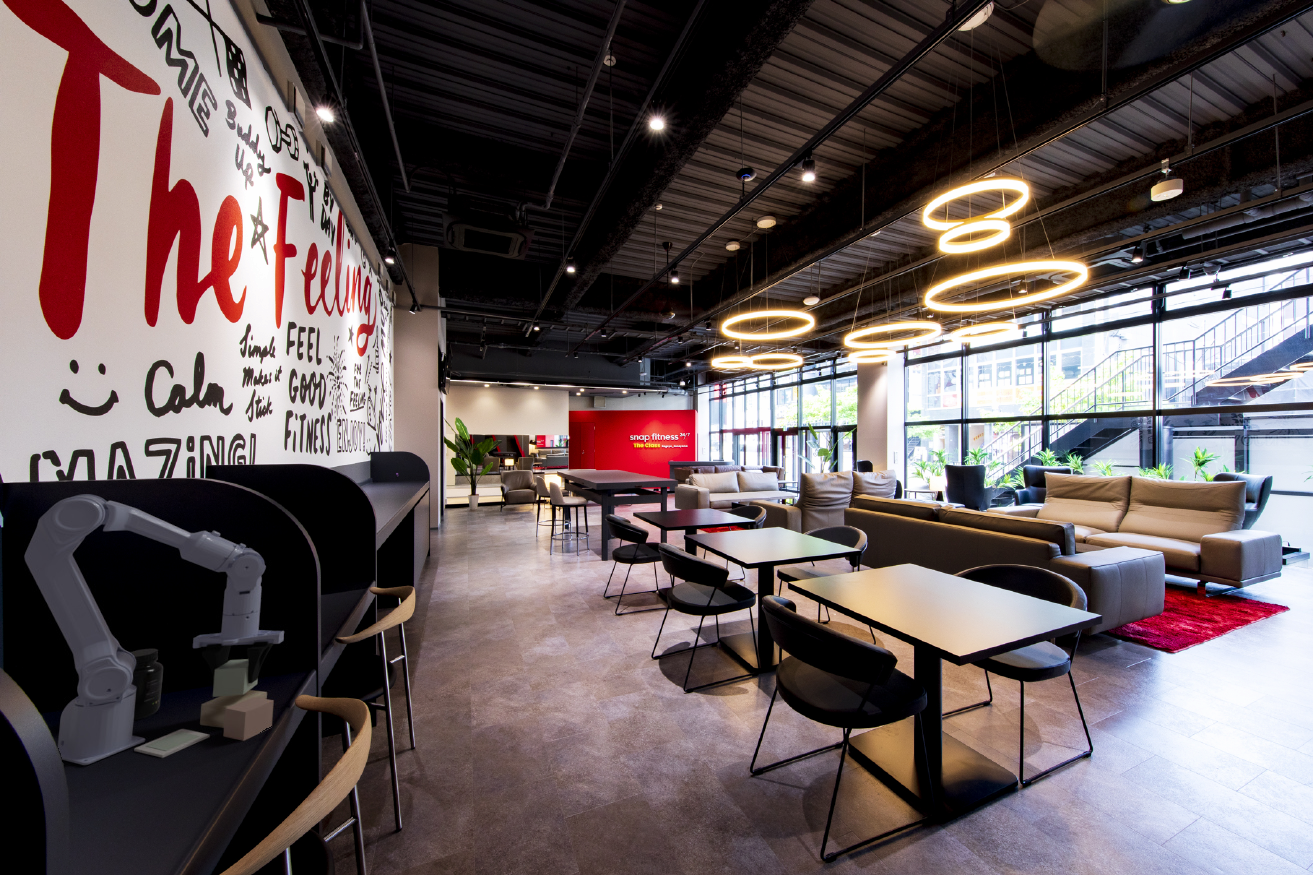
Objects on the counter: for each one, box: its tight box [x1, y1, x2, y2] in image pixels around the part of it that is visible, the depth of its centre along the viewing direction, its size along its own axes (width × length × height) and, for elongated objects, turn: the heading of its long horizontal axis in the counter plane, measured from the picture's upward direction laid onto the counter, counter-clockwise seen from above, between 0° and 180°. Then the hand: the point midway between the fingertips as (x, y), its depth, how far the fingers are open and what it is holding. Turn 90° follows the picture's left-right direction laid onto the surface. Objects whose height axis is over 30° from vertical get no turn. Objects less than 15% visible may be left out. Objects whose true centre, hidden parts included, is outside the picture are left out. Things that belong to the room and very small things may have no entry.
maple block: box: [199, 689, 268, 729], centre depth 99 cm, size 7×7×4 cm
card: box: [134, 728, 210, 759], centre depth 89 cm, size 7×7×1 cm
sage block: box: [212, 658, 259, 698], centre depth 99 cm, size 5×5×5 cm
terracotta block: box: [223, 697, 275, 742], centre depth 94 cm, size 5×5×5 cm
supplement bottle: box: [129, 648, 164, 722], centre depth 99 cm, size 7×7×12 cm
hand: (236, 682), depth 99 cm, fingers closed on sage block, 5 cm apart
